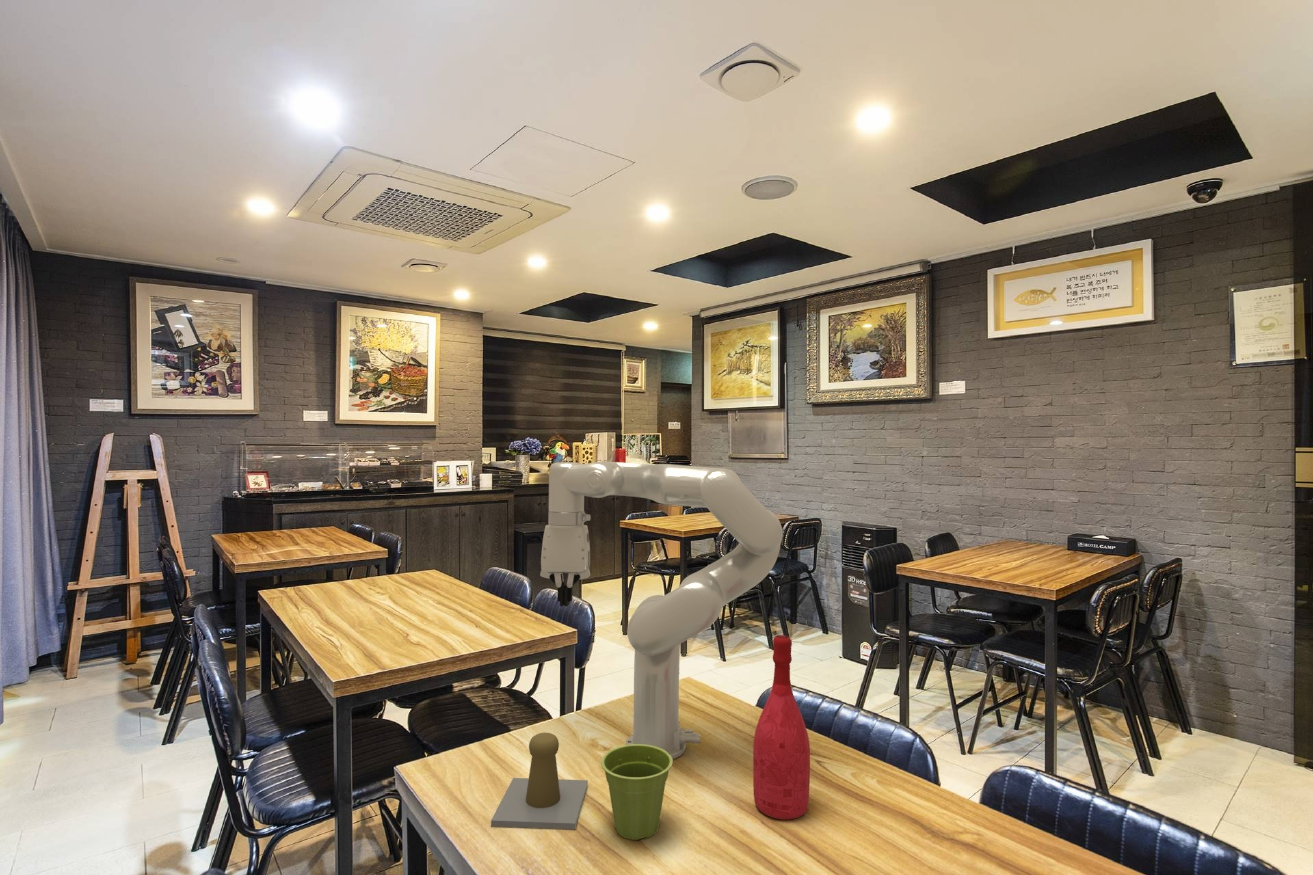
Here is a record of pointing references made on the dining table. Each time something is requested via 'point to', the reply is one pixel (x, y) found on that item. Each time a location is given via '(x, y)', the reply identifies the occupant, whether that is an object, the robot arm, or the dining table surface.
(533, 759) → the brown pawn
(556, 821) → the tile
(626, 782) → the plant pot
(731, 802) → the dining table surface
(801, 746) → the wine bottle
